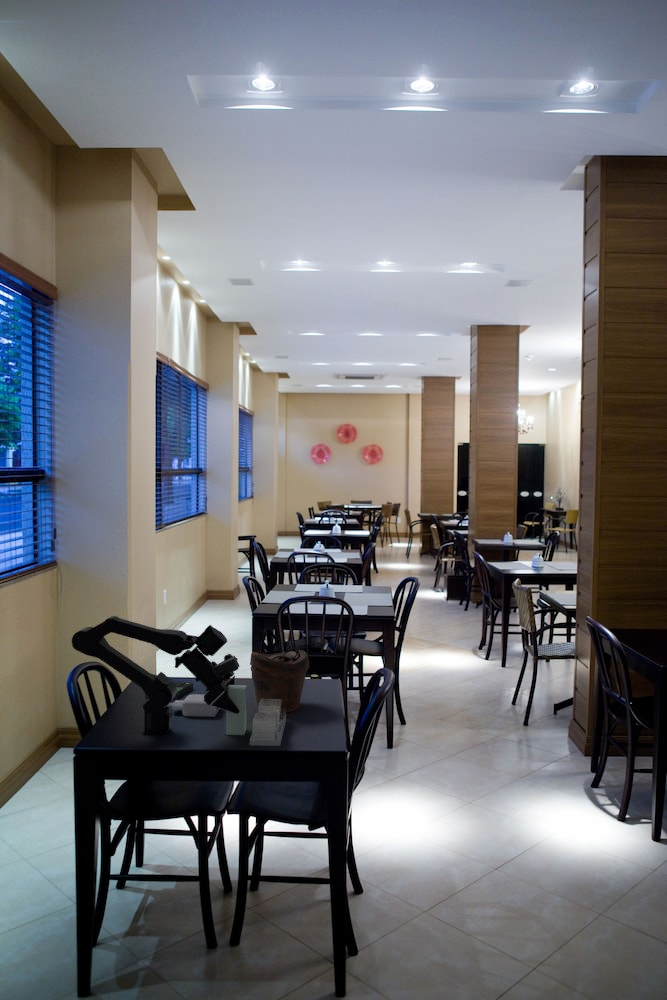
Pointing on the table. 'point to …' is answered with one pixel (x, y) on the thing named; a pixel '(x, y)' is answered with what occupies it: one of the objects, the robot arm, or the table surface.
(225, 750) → the table surface
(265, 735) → the rail
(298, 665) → the brown flower pot
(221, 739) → the table surface
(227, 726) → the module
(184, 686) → the disk drive
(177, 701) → the charger
